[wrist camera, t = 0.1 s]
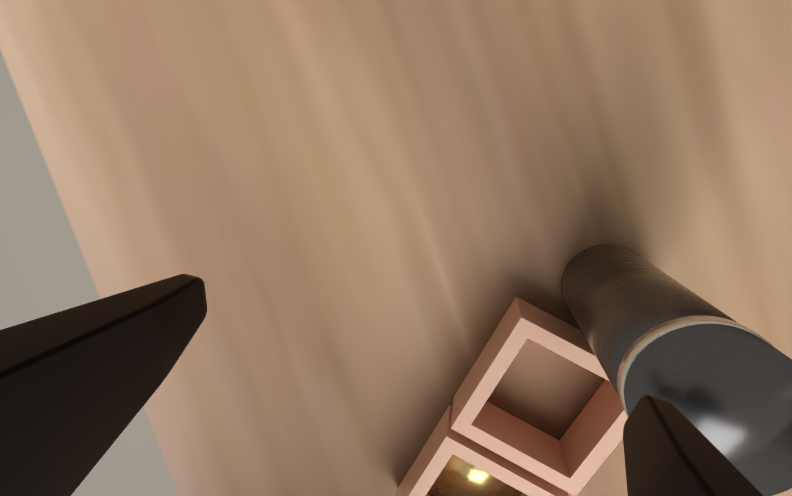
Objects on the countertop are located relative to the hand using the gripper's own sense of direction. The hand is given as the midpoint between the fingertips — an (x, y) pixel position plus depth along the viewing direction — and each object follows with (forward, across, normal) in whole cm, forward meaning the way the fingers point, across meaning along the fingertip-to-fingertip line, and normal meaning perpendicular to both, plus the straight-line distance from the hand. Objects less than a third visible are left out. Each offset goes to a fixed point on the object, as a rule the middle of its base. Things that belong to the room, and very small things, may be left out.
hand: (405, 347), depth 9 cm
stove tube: (+14, -9, +5) cm, 18 cm away
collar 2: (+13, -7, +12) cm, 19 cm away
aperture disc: (+11, -5, +19) cm, 22 cm away
